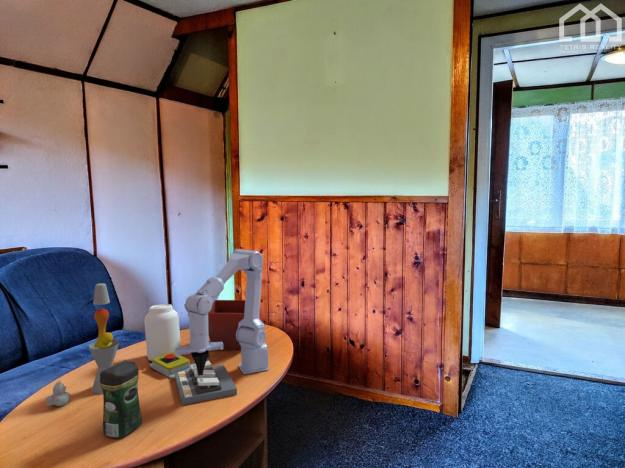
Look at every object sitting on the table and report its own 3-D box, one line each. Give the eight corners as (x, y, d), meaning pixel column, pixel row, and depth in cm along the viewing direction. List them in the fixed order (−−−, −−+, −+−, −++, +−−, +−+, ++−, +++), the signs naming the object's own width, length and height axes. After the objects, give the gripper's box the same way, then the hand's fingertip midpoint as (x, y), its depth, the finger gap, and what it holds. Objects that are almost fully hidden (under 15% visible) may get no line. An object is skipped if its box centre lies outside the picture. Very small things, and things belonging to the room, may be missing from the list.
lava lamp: (84, 391, 139) (78, 286, 135) (106, 379, 147) (101, 280, 143) (106, 396, 136) (100, 288, 132) (127, 383, 144) (122, 282, 140)
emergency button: (171, 347, 163) (194, 358, 154) (171, 358, 164) (194, 370, 155) (148, 354, 156) (172, 367, 147) (148, 366, 157) (172, 379, 147)
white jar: (161, 364, 157) (156, 310, 156) (140, 359, 164) (136, 307, 163) (188, 353, 168) (184, 303, 167) (167, 349, 175) (164, 301, 174)
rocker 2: (212, 372, 145) (213, 369, 145) (214, 376, 142) (215, 373, 142) (193, 372, 142) (194, 369, 142) (195, 377, 139) (195, 373, 139)
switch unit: (223, 369, 155) (223, 360, 155) (237, 394, 137) (236, 383, 136) (174, 378, 148) (174, 368, 148) (181, 405, 130) (181, 393, 130)
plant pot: (251, 354, 170) (250, 312, 168) (203, 353, 170) (202, 312, 168) (258, 337, 189) (257, 299, 187) (215, 336, 189) (214, 299, 187)
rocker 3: (216, 380, 139) (217, 377, 139) (218, 385, 136) (219, 381, 136) (196, 380, 136) (197, 377, 136) (198, 385, 133) (199, 382, 133)
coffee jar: (124, 417, 123) (121, 356, 121) (146, 423, 120) (143, 360, 118) (97, 436, 114) (93, 369, 112) (120, 442, 111) (116, 374, 109)
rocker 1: (209, 363, 151) (209, 360, 151) (211, 367, 148) (211, 364, 147) (191, 367, 148) (190, 364, 148) (192, 371, 145) (192, 368, 145)
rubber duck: (73, 403, 131) (72, 378, 130) (50, 413, 126) (48, 387, 125) (65, 398, 134) (63, 374, 133) (42, 407, 129) (40, 382, 128)
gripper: (176, 339, 127) (177, 383, 128) (225, 333, 133) (225, 375, 134) (173, 332, 133) (175, 374, 135) (220, 326, 139) (221, 366, 140)
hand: (200, 374), depth 135 cm, fingers closed
